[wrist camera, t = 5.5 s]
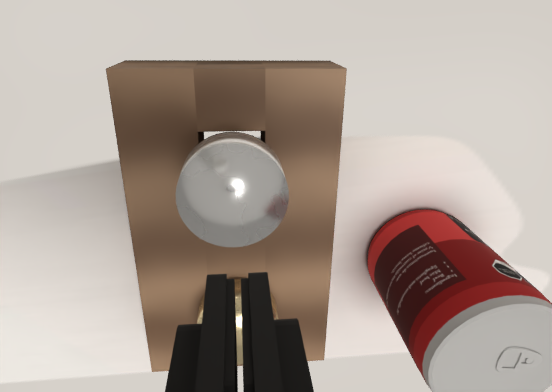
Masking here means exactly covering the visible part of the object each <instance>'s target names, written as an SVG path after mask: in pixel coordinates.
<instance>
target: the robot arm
mask: <svg viewBox="0 0 552 392" xmlns="http://www.w3.org/2000/svg"><path fill="white" fill-rule="evenodd" d="M241 308H242V346H243V382H244V392H314V391H313V386H312V381H311V376H310V372H309V367H308V362H307V358H306V353H305V348H304V344H303V339H302V334H301V330H300V325H299V321H298V319H297V318H294V319H276V320H274V317H273V309H272V302H271V294H270V287H269V279H268V273H267V272H256V273H248V278H241ZM237 390H238V388H237V338H236V308H235V279H227V274H210V275H207V278H206V288H205V297H204V307H203V317H202V324H184V325H178V326H177V330H176V335H175V341H174V346H173V351H172V357H171V362H170V368H169V373H168V379H167V385H166V390H165V392H238V391H237Z"/></svg>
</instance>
